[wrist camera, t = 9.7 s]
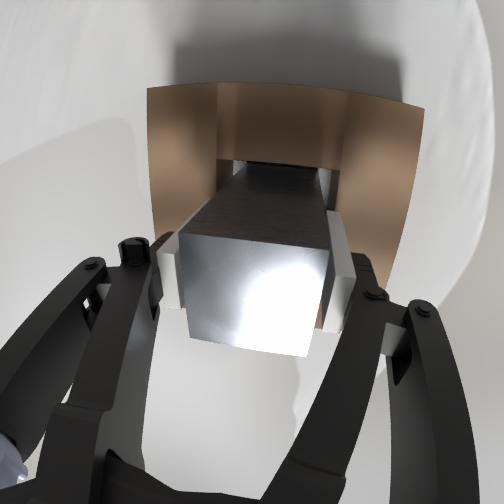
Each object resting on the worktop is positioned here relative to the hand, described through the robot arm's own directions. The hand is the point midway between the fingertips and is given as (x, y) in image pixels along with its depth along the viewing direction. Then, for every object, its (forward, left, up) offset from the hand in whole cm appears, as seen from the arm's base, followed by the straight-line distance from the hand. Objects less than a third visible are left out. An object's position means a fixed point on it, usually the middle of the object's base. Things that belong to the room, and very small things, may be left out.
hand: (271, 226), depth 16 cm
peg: (0, 0, -5) cm, 5 cm away
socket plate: (0, 0, -5) cm, 5 cm away
